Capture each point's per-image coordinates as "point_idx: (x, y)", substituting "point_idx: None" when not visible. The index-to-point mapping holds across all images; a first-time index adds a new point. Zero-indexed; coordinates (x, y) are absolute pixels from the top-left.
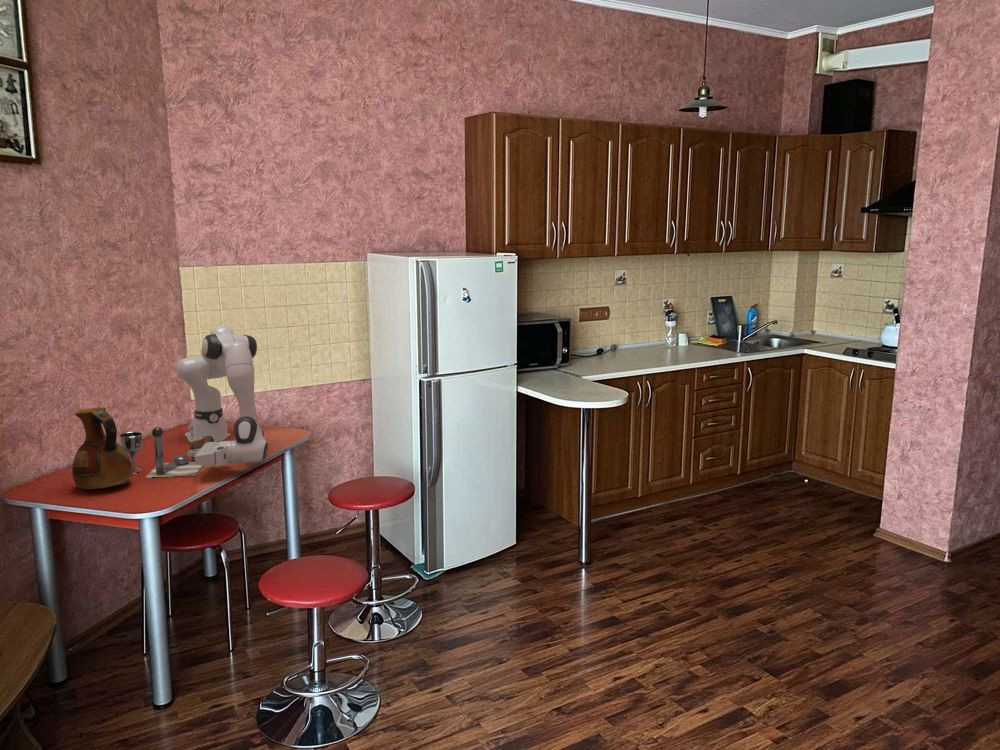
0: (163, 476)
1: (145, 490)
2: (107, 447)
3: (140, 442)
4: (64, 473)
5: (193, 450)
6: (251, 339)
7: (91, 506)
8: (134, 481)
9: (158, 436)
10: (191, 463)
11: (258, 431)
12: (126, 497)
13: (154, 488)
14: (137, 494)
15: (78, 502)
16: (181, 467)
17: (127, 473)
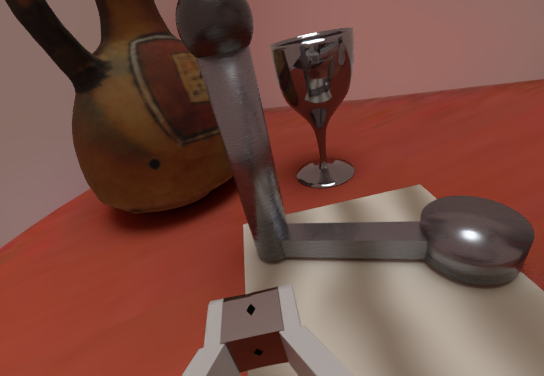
0: (245, 275)
1: (86, 292)
2: (67, 75)
3: (312, 79)
4: (289, 115)
5: (281, 336)
6: None
7: (23, 232)
8: (215, 217)
9: (196, 58)
10: (513, 304)
11: None
12: (40, 271)
13: (94, 314)
14: (51, 288)
15: (80, 200)
16: (402, 286)
17: (121, 191)
